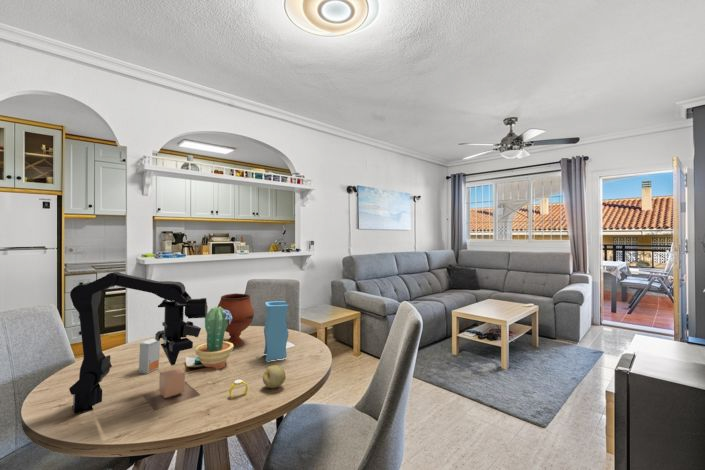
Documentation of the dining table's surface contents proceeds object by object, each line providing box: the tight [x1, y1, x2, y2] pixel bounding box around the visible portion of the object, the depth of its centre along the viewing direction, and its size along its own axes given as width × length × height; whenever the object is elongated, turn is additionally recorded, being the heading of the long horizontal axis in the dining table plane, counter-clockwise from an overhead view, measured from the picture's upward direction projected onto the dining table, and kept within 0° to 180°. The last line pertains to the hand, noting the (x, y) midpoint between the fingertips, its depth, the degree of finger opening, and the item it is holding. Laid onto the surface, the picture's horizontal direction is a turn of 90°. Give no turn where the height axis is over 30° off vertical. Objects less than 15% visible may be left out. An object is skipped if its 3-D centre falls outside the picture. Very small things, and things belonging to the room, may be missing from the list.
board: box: [141, 381, 201, 411], centre depth 108 cm, size 14×14×1 cm
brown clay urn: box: [216, 292, 255, 348], centre depth 164 cm, size 19×19×25 cm
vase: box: [263, 300, 290, 361], centre depth 147 cm, size 10×10×25 cm
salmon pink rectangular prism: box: [158, 367, 186, 398], centre depth 108 cm, size 6×6×7 cm
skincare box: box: [138, 338, 161, 375], centre depth 130 cm, size 6×4×12 cm
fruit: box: [262, 365, 287, 389], centre depth 117 cm, size 8×8×8 cm
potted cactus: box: [195, 306, 234, 370], centre depth 136 cm, size 15×15×25 cm
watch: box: [228, 379, 249, 399], centre depth 109 cm, size 6×3×6 cm, turn 124°
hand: (172, 364), depth 109 cm, fingers closed
